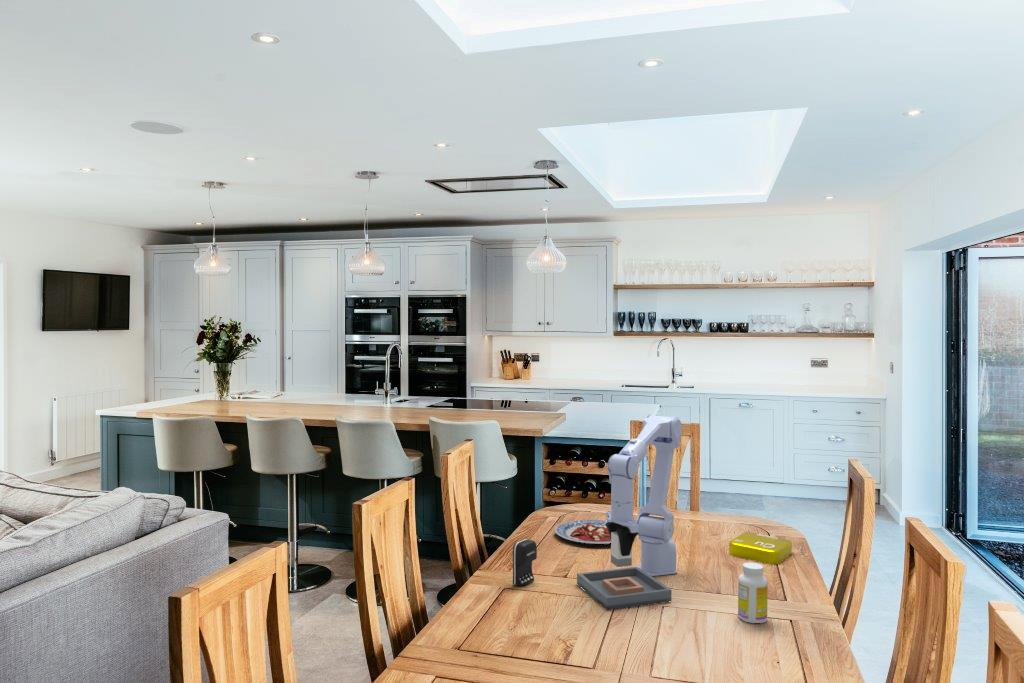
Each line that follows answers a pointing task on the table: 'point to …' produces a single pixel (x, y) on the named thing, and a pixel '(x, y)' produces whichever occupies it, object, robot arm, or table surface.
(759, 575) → the supplement bottle
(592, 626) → the table surface
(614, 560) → the grey square prism
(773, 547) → the element tile
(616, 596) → the walled box
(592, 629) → the table surface
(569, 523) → the ceramic plate
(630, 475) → the robot arm
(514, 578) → the battery charger
